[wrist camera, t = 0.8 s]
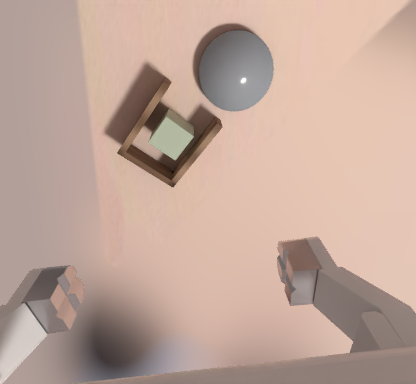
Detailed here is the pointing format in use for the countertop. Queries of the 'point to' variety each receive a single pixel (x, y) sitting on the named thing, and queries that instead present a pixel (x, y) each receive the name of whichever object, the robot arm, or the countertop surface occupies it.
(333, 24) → the countertop surface
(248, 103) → the grey round glossy part
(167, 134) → the cube
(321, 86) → the countertop surface
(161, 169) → the cubby
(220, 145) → the countertop surface
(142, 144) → the countertop surface
